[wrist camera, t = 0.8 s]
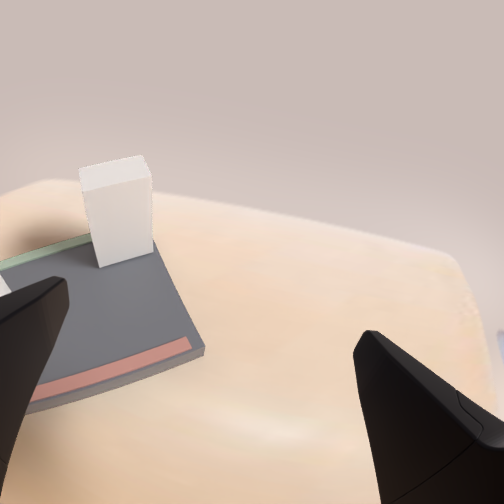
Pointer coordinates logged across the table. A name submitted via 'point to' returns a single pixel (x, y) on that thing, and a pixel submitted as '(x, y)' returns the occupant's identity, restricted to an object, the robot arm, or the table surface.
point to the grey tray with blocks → (109, 293)
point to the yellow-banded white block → (3, 287)
